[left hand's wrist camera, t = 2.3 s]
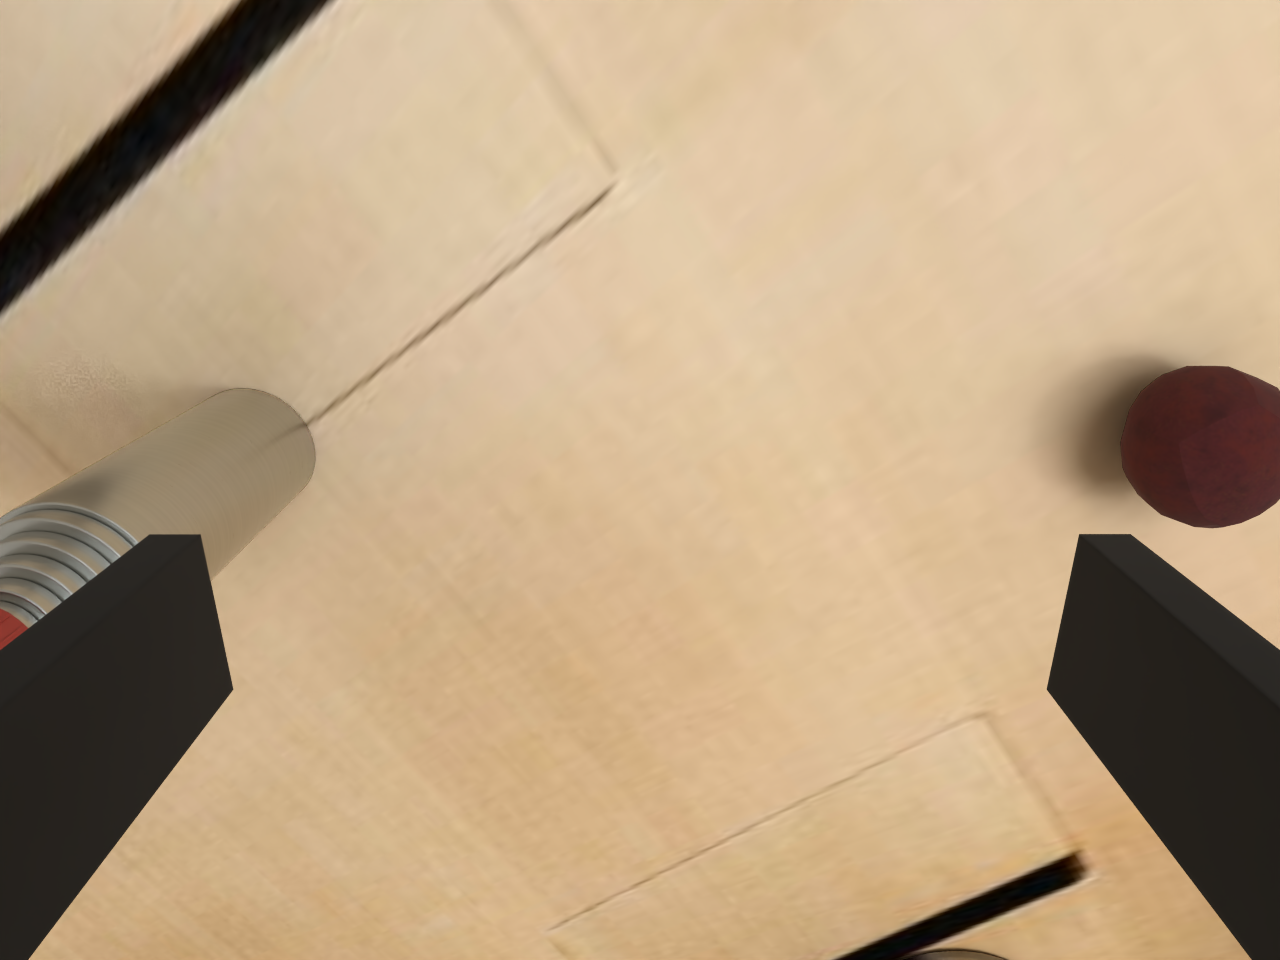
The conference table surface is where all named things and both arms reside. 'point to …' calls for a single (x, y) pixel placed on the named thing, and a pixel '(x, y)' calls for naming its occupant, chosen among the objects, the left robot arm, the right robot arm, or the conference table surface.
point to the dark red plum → (1205, 446)
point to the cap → (9, 628)
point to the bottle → (158, 498)
